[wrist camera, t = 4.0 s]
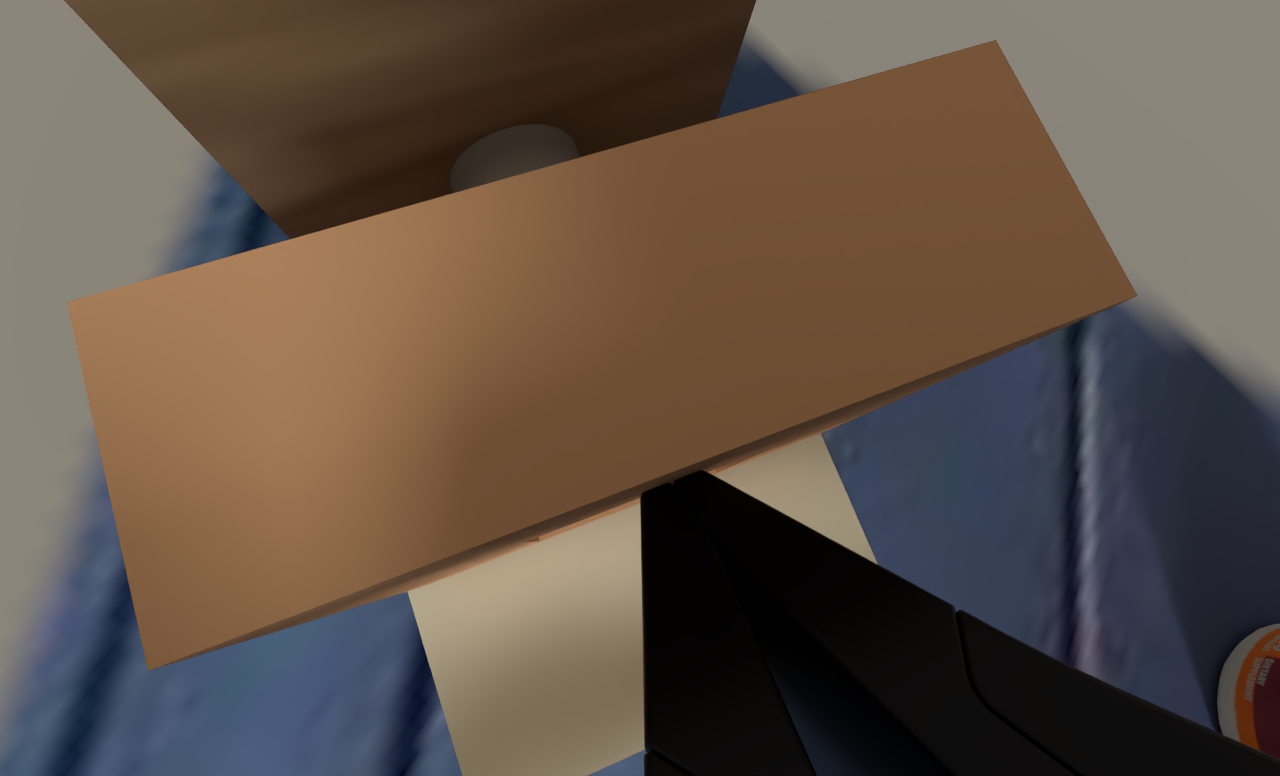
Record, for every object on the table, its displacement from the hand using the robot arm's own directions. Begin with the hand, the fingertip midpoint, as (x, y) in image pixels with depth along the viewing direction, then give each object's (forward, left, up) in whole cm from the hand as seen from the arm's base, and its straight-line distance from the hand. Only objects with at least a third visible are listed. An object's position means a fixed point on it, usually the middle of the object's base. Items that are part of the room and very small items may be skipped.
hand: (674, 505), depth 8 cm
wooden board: (+1, -1, -6) cm, 7 cm away
